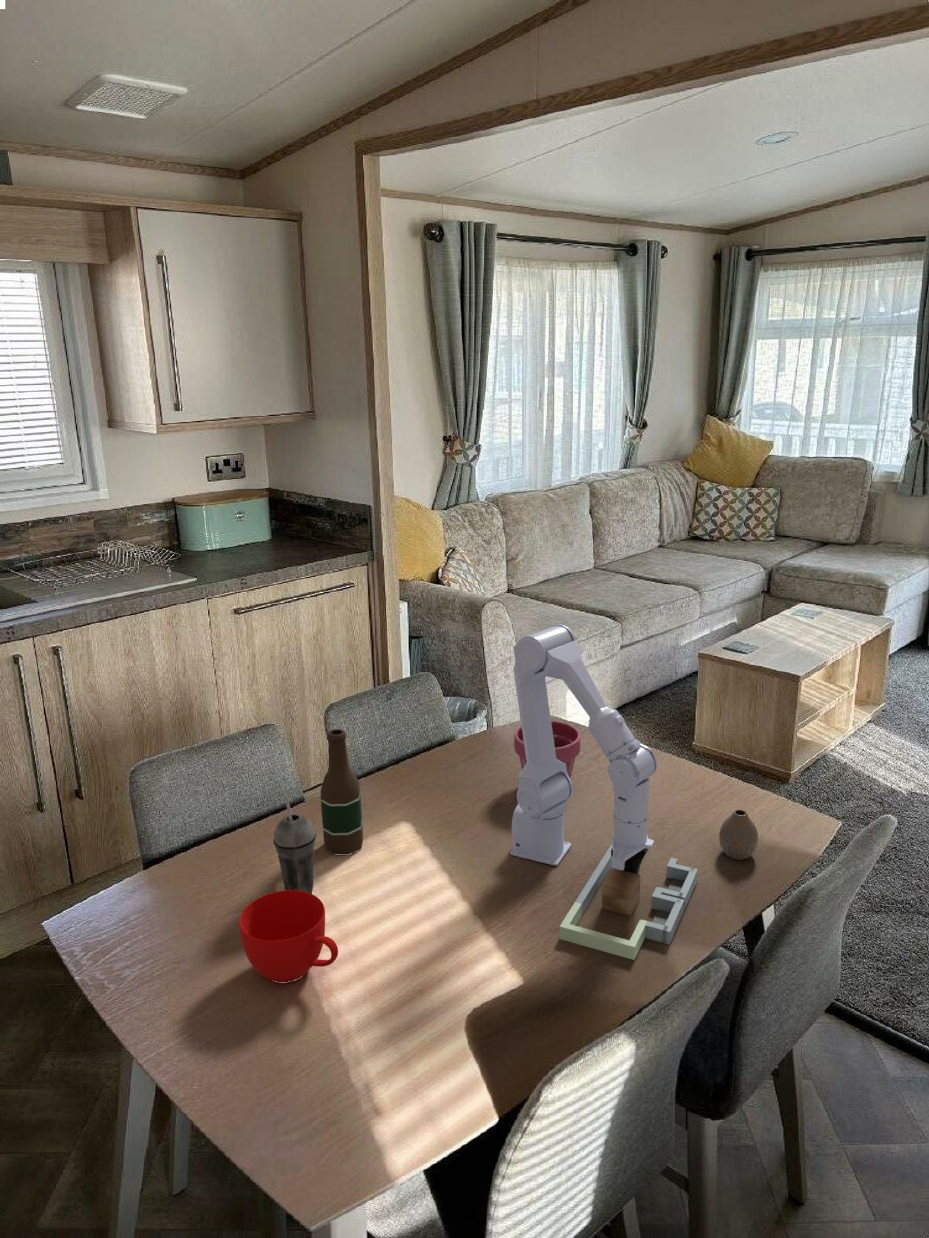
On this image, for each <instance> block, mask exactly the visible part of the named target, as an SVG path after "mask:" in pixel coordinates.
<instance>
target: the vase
mask: <svg viewBox="0 0 929 1238" xmlns="http://www.w3.org/2000/svg"><path fill="white" fill-rule="evenodd" d="M718 833H719V835H718V837H719V838H718V839H719V845H720V848H721V850H722V852H723V853H724V854H725V855H726V856H728V857H729V858H730V859H733V860H737V861H743V860H747V859H748V858H750V857H751V856H752V855H754V853H755V852H756V850H757V848H758V843H759V833H758V829H757V826H756V825H755V823H754V822H753V821H752V819H751V818H750V817H749V814H748V812H747V811H746V810H744V809H741V808H740V809H735V810H733V812H732V813H731V815H730V816H728V817H727V818H726V819H725V820H723V823H722V825H721V826H720V829H719V832H718Z"/></svg>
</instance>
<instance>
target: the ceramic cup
mask: <svg viewBox="0 0 929 1238" xmlns="http://www.w3.org/2000/svg"><path fill="white" fill-rule="evenodd" d="M238 928H239V935H240V938H241V943H242V948H243V950H244V953H245V956H246V958H247V959H248V961H249V963H250V965H251V966H252V967H253V968H254V970H256V971H257V972H258V974H259V975H261V976H262V977H265V978H266V979H268V980H269V979H270V980H269V981H271V980H273V981H277V982H288V981H293V980H295V979H298V978H300V977H301V976H303V975H304V974H305V973H306V974H307V973H308V972H309V970H311V968H313V967H317V968H318V967H320V968H322V967H328V966H330V965H332V964H333V963H334V962H335V961H336V960H337V958H338V955H339V948H338V945H337V943H336V942H335V940H334V939H332V938H331V937H329V936H326V935H325V934H326V933H325V932H326V909H325V905H324V902H322V900H321V899H320V898H319V897H318V896H317V895H315V894H311V893H308V892H304V891H298V890H285V889H284V890H278V891H274V892H271V893H267V894H264V895H262V896H259V897H258V898H256V899H255V900H253V901H251V902H250V903H249V904H248V905H246V907H244V908H243V910H242V912H241V913H240V916H239V920H238ZM324 945H325V946H326V947H327V948H328V949H329V952H330V955H331V956H330V958H329V959H319V957H320V954H321V951H322V949H323V946H324ZM306 974H305V975H306ZM305 975H304V976H305ZM304 976H303V977H304ZM300 979H301V978H300Z"/></svg>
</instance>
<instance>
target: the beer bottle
mask: <svg viewBox="0 0 929 1238" xmlns="http://www.w3.org/2000/svg"><path fill="white" fill-rule="evenodd" d="M346 739H347V733H346V731H345V730H343V729H341V728H337V729H331V730H329V731H328V732H327V735H326V741H327V742H328V744H327V745H328V746H327V747H328V750H327V751H328V769H327V771H326V774H325V775H324V777H323V781H322V784H321V788H320V806H321V808H320V809H321V821H322V822H321V823H322V835H323V836H322V837H323V842H324V843H323V844H324V845H323V846H324V850H325V851H327V850H328V851H327V852H329V853H330V852H331V854H332V853H333V855H334V854H350V853H352V854H354V853H356V852H358V851H360V850H361V849H362V846H363V841H364V829H363V828H364V827H363V826H364V825H363V824H364V823H363V809H362V795H361V792H362V791H361V787H360V786H361V785H360V781H359V779H358V777H357V775H356V773H354V771H352V769H351V767H350V763H349V758H348V757H349V756H348V750H347V743H346ZM359 849H360V850H359ZM357 850H358V851H357ZM355 851H356V852H355ZM353 852H354V853H353ZM350 855H351V854H350Z"/></svg>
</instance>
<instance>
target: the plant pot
mask: <svg viewBox="0 0 929 1238" xmlns="http://www.w3.org/2000/svg"><path fill="white" fill-rule="evenodd" d="M551 724H552V732H553V739H554V746H555V753H556V759H557V760H559V761H561V762H563V763H564V764H565V765H566V769H567V773H568V776H569V778H570V779H571V777H572V772H573V768H574V764H575V762H576V761H575V760H576V757H577V756H579V755H580V752H581V744H582V743H581V741H582V740H581V733H580V731H579V729H577V728H576V726H574V725H572V724H569V723H567V722H562V721H557V720H551ZM513 737H514V741H513V742H514V743H513V749H514V752H515V753H516V754H517V756H518V757H519V763H520V767H521V770H522V769H523V768H524V766H525V764H526V762H527V761H526V754H525V747H524V740H523V733H522V726H521V725H520V726H518V727H517V728H516V730H515V732H514V736H513Z"/></svg>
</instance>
